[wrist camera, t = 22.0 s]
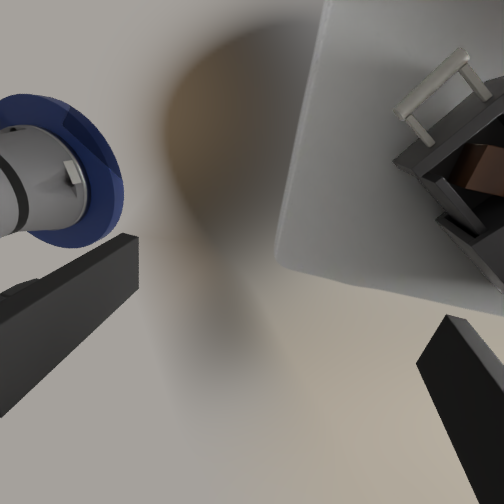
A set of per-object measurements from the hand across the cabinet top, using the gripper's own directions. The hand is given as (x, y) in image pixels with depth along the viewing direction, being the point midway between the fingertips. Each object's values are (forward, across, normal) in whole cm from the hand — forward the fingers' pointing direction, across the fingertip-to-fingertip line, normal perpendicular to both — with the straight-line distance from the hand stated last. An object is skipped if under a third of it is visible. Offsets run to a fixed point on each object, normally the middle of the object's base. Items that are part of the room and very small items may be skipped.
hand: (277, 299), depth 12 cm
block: (+24, +17, +6) cm, 30 cm away
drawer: (+25, +15, +8) cm, 30 cm away
